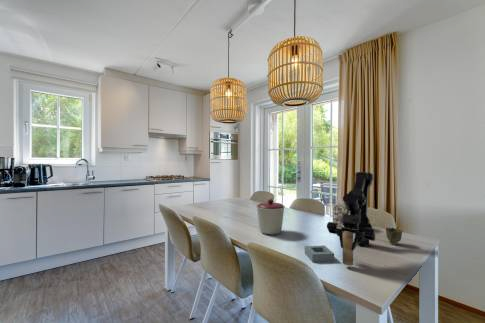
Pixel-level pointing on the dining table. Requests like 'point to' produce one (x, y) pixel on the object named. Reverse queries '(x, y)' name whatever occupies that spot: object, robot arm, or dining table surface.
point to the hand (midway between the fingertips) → (347, 248)
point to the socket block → (319, 254)
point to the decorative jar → (339, 213)
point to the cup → (393, 235)
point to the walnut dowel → (347, 248)
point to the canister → (270, 217)
